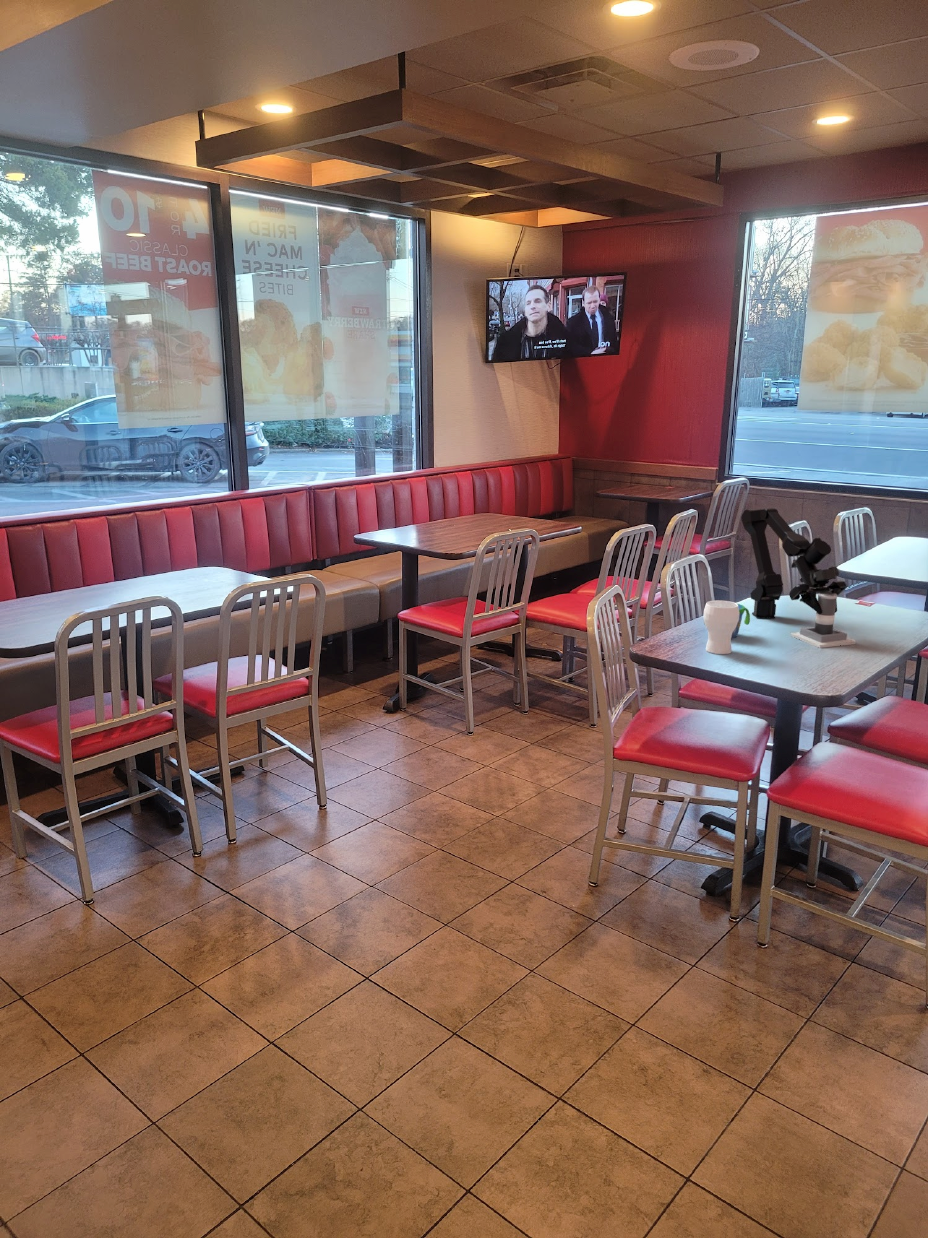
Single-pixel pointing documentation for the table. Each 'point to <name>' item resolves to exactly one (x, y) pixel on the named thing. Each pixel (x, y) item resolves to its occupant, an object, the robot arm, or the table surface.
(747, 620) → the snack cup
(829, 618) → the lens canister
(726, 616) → the cup
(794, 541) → the robot arm
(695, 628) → the table surface
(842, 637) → the square framed plate
